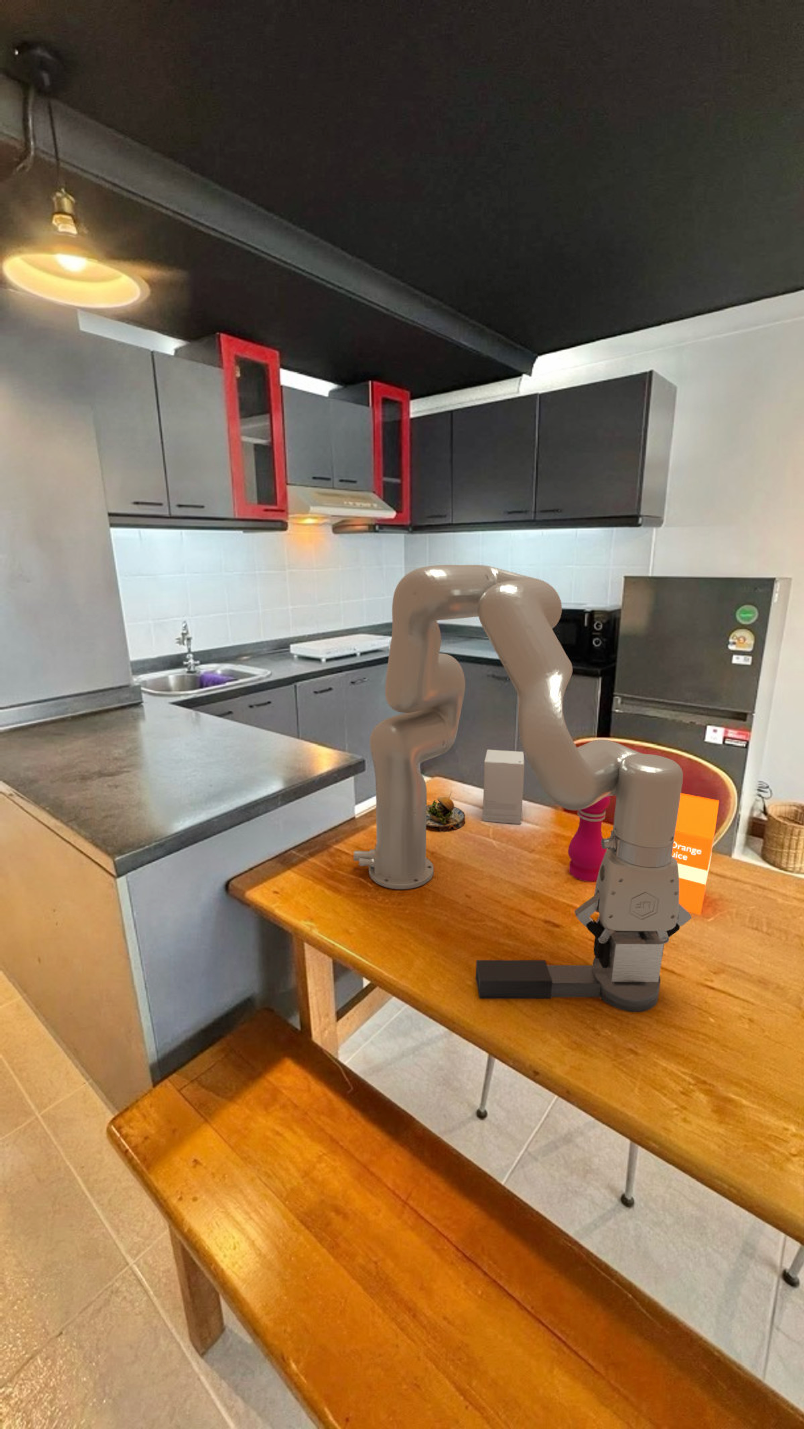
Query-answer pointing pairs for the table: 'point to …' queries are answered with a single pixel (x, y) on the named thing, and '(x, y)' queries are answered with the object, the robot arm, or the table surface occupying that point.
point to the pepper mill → (588, 842)
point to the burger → (444, 815)
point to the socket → (635, 958)
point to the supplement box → (503, 786)
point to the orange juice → (694, 848)
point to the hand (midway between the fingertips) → (626, 960)
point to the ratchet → (563, 982)
